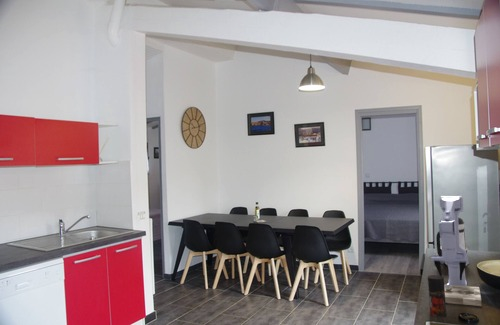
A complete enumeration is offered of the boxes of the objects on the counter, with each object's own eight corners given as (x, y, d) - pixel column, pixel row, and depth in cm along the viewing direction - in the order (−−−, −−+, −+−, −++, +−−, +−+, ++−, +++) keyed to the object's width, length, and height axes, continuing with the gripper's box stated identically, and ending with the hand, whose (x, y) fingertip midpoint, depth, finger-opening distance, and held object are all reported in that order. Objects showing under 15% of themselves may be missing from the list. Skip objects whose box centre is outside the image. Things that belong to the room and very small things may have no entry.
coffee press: (438, 260, 241) (435, 211, 241) (468, 261, 234) (464, 211, 234) (438, 267, 226) (434, 215, 226) (470, 269, 219) (466, 215, 219)
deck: (438, 289, 190) (438, 284, 190) (479, 292, 182) (479, 287, 182) (437, 301, 174) (436, 296, 174) (481, 306, 166) (481, 300, 166)
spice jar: (427, 312, 163) (424, 276, 163) (438, 310, 165) (435, 274, 165) (438, 317, 158) (435, 280, 158) (449, 314, 160) (447, 277, 160)
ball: (444, 289, 182) (444, 282, 182) (452, 290, 181) (451, 283, 181) (444, 291, 180) (444, 284, 180) (452, 292, 178) (451, 285, 178)
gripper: (430, 249, 174) (432, 280, 174) (467, 250, 167) (470, 282, 167) (431, 246, 180) (433, 275, 180) (467, 247, 174) (469, 277, 174)
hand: (450, 278), depth 174 cm, fingers open, 7 cm apart
